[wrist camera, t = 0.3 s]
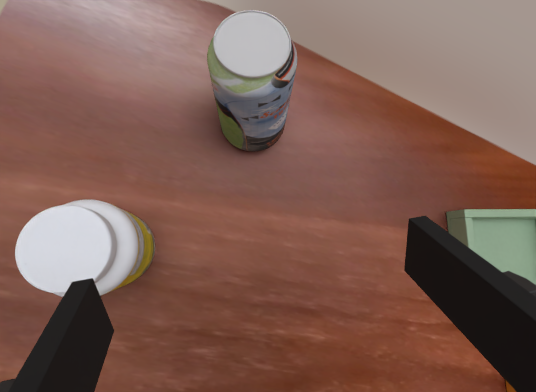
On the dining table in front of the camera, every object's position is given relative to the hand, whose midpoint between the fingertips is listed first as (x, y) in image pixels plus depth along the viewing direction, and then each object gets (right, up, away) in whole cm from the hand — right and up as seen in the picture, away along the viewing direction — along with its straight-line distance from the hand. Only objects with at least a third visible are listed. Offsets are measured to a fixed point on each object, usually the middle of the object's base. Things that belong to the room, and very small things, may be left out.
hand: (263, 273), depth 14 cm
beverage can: (-2, +10, +18) cm, 21 cm away
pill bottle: (-13, -1, +14) cm, 19 cm away
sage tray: (+24, -4, +21) cm, 32 cm away
